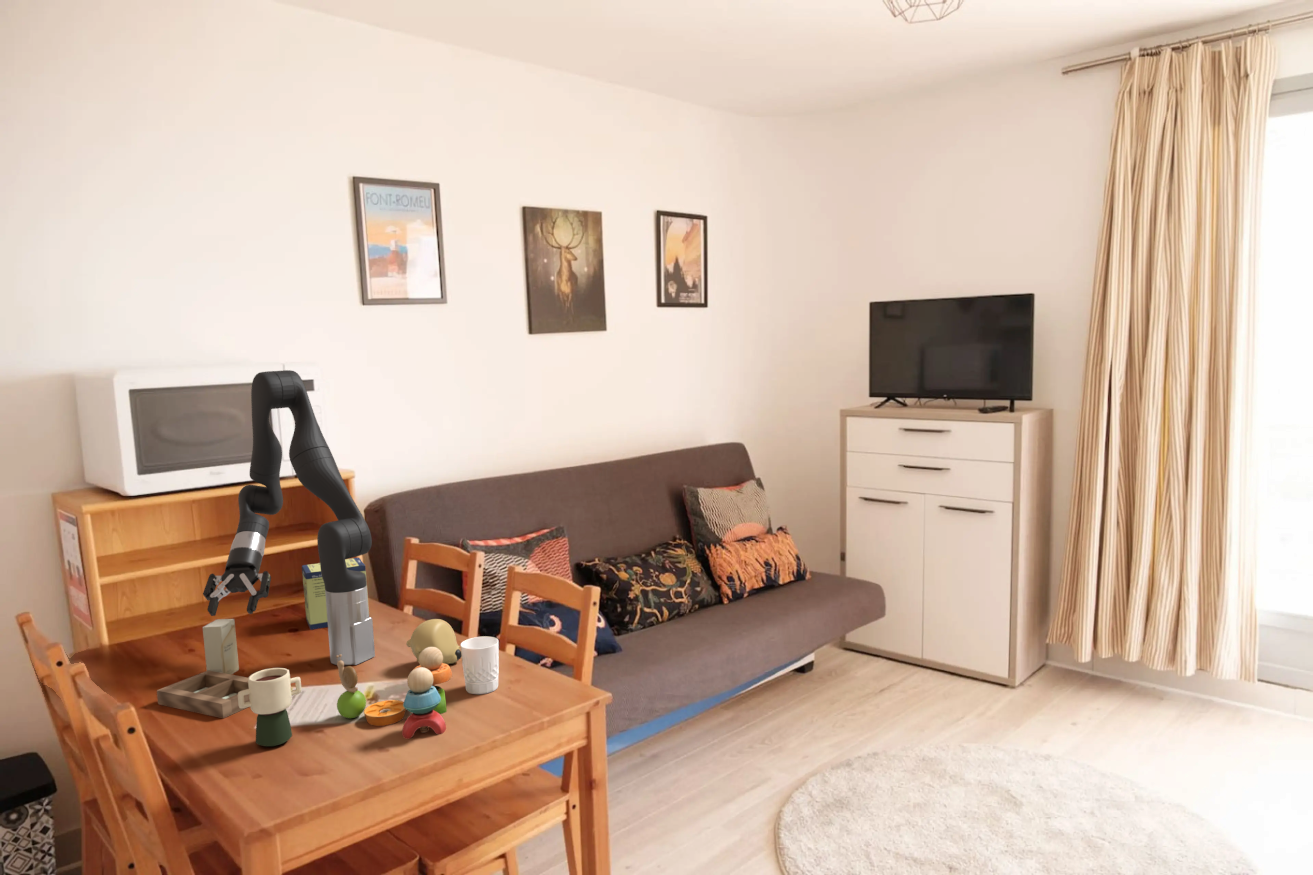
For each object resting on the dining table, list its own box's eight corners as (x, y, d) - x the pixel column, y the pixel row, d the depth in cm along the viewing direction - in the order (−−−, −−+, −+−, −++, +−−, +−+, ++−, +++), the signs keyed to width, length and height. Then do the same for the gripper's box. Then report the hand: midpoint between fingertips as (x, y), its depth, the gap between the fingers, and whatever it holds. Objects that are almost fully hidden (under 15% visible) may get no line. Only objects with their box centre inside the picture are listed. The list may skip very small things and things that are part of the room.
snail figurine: (354, 707, 173) (350, 650, 171) (372, 715, 169) (368, 656, 167) (329, 717, 168) (325, 658, 167) (347, 725, 164) (342, 664, 163)
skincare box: (225, 679, 191) (221, 626, 190) (206, 679, 192) (201, 627, 190) (239, 669, 198) (235, 617, 196) (221, 669, 198) (216, 618, 197)
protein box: (305, 620, 234) (300, 564, 233) (364, 610, 241) (360, 556, 240) (309, 630, 225) (304, 572, 223) (370, 620, 232) (366, 564, 231)
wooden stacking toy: (363, 712, 171) (359, 651, 169) (451, 697, 177) (447, 638, 175) (366, 749, 154) (361, 682, 153) (463, 731, 160) (459, 667, 159)
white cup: (464, 697, 176) (461, 650, 175) (462, 684, 183) (459, 638, 182) (502, 692, 178) (500, 646, 177) (499, 679, 185) (496, 634, 184)
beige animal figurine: (445, 685, 192) (477, 647, 196) (408, 655, 187) (441, 616, 190) (430, 671, 201) (461, 635, 204) (394, 642, 195) (426, 605, 199)
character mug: (299, 727, 164) (294, 661, 163) (310, 739, 159) (305, 672, 157) (238, 744, 158) (232, 676, 156) (247, 758, 152) (241, 687, 151)
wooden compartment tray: (273, 695, 181) (272, 682, 180) (223, 718, 170) (222, 703, 170) (209, 683, 189) (208, 670, 189) (158, 704, 178) (156, 690, 178)
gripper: (210, 547, 207) (193, 607, 197) (271, 544, 208) (256, 603, 198) (222, 563, 213) (205, 622, 202) (280, 560, 214) (267, 619, 203)
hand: (230, 613), depth 200 cm, fingers open, 8 cm apart
